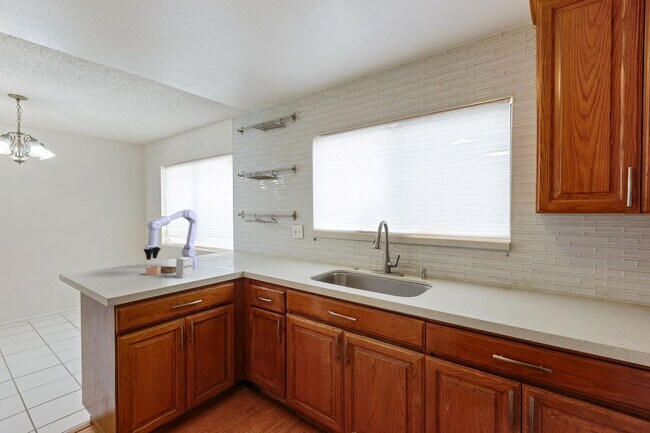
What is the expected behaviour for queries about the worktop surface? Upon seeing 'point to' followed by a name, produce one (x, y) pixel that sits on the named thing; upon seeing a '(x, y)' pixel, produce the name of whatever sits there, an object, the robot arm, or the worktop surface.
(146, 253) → the robot arm
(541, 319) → the worktop surface
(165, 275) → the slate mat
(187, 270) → the supplement box
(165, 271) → the walnut crate
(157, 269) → the terracotta crate
